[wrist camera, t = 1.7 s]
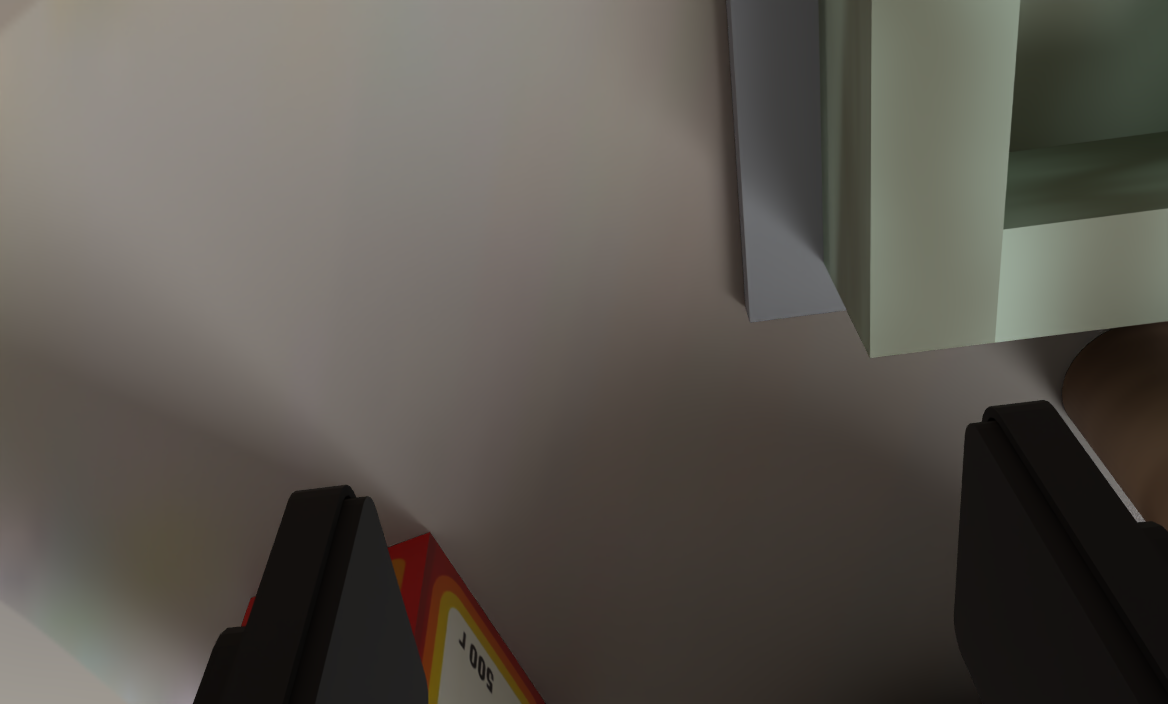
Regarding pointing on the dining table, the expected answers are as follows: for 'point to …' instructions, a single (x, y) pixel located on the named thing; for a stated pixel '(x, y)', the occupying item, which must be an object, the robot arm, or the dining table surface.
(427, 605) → the baking soda box
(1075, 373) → the dowel
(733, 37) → the rail board
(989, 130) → the socket block
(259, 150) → the dining table surface
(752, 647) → the dining table surface
